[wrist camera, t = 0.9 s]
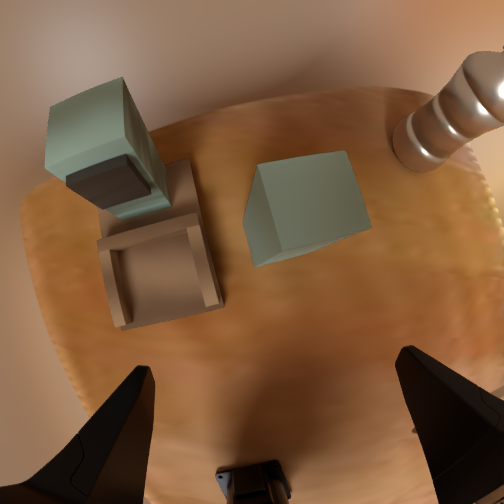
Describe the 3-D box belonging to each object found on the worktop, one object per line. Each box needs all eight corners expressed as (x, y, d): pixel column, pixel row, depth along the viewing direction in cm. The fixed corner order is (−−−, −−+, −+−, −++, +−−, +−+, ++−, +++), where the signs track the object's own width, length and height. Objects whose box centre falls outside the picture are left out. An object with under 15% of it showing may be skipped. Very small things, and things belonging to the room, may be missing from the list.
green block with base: (224, 306, 23) (220, 333, 10) (125, 328, 22) (38, 365, 9) (190, 162, 24) (164, 64, 11) (100, 189, 23) (21, 123, 10)
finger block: (304, 254, 24) (372, 227, 12) (254, 267, 24) (282, 251, 12) (290, 204, 25) (341, 139, 13) (240, 215, 24) (254, 152, 12)
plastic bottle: (374, 139, 26) (494, 19, 6) (406, 119, 27) (509, 22, 7) (410, 188, 26) (556, 104, 6) (438, 163, 27) (557, 87, 7)
